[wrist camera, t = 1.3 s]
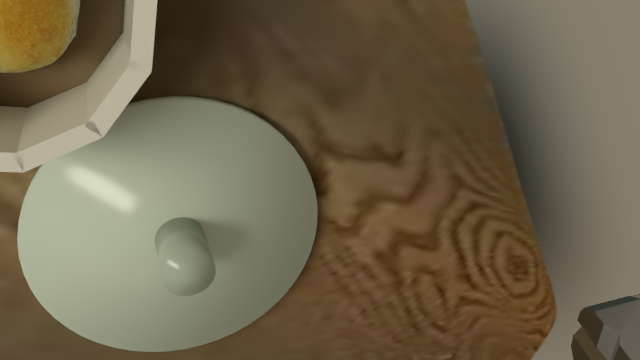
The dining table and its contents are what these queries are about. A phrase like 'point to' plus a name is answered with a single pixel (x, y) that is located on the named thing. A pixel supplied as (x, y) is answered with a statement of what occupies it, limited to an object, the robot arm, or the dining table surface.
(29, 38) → the bread roll
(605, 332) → the robot arm
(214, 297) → the lid
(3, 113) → the bowl
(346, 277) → the dining table surface
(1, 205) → the dining table surface
